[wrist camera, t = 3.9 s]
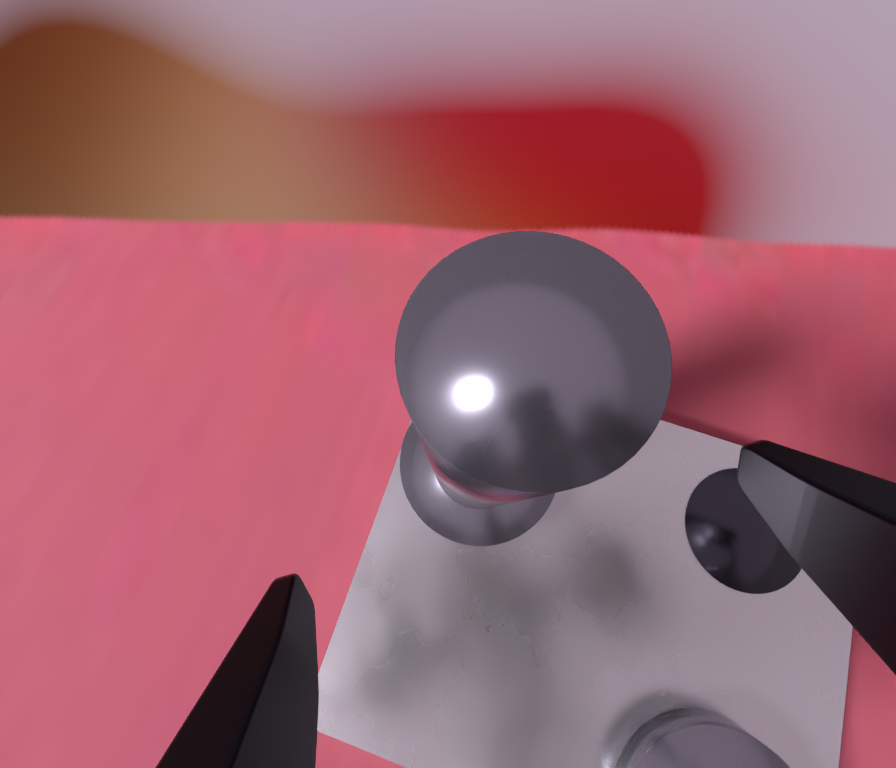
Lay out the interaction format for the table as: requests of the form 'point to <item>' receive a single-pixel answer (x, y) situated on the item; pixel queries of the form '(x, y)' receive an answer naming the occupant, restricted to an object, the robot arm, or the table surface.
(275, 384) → the table surface
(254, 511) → the table surface
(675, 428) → the plate
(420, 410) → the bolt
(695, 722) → the grey metal knob
